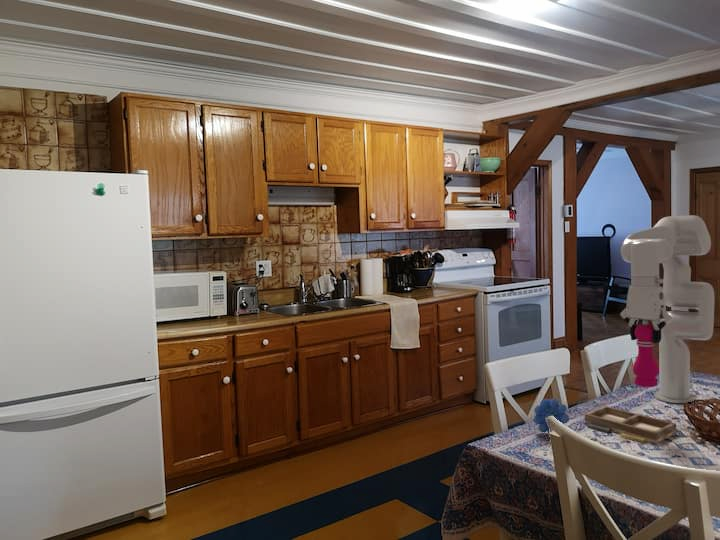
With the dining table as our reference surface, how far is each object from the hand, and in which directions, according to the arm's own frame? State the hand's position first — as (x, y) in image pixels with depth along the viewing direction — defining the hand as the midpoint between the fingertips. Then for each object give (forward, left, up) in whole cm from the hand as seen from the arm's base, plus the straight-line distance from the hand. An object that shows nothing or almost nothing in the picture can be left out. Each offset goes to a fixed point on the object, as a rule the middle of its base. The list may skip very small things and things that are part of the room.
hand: (645, 340), depth 172 cm
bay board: (+1, -5, -29) cm, 29 cm away
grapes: (+22, -18, -29) cm, 40 cm away
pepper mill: (0, 0, -14) cm, 14 cm away
